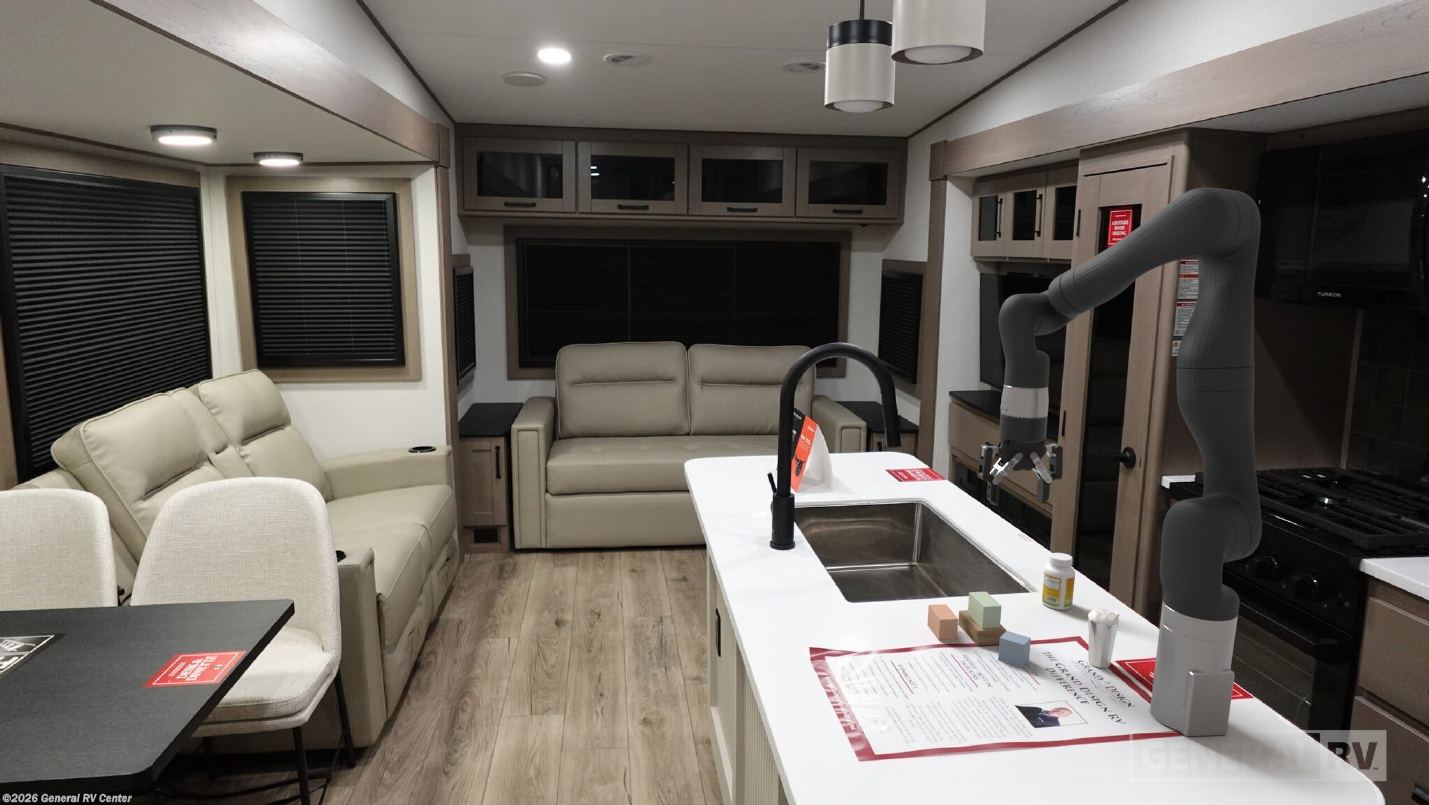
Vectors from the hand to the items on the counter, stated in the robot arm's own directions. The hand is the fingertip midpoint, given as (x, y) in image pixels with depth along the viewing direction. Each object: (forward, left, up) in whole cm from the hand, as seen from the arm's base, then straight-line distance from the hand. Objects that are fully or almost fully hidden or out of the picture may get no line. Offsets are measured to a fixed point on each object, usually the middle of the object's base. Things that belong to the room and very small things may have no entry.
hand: (1017, 503), depth 146 cm
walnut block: (-2, +6, -24) cm, 24 cm away
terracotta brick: (-1, +12, -23) cm, 26 cm away
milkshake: (-14, -10, -23) cm, 29 cm away
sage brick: (-2, +6, -21) cm, 21 cm away
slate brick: (-11, +4, -23) cm, 26 cm away
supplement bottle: (+9, -14, -23) cm, 29 cm away
